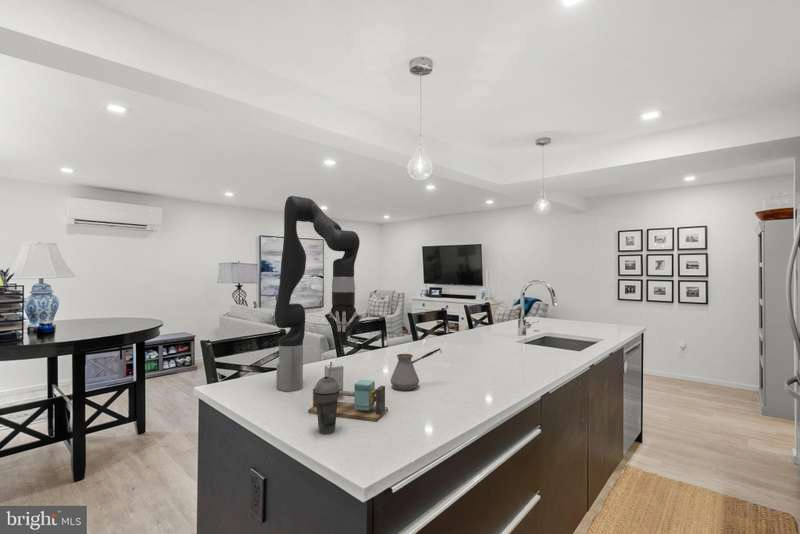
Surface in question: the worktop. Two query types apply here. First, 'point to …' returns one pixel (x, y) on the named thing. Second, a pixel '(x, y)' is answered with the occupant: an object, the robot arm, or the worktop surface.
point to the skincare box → (336, 375)
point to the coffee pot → (406, 372)
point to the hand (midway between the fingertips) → (343, 342)
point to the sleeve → (363, 394)
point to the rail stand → (349, 412)
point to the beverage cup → (326, 403)
